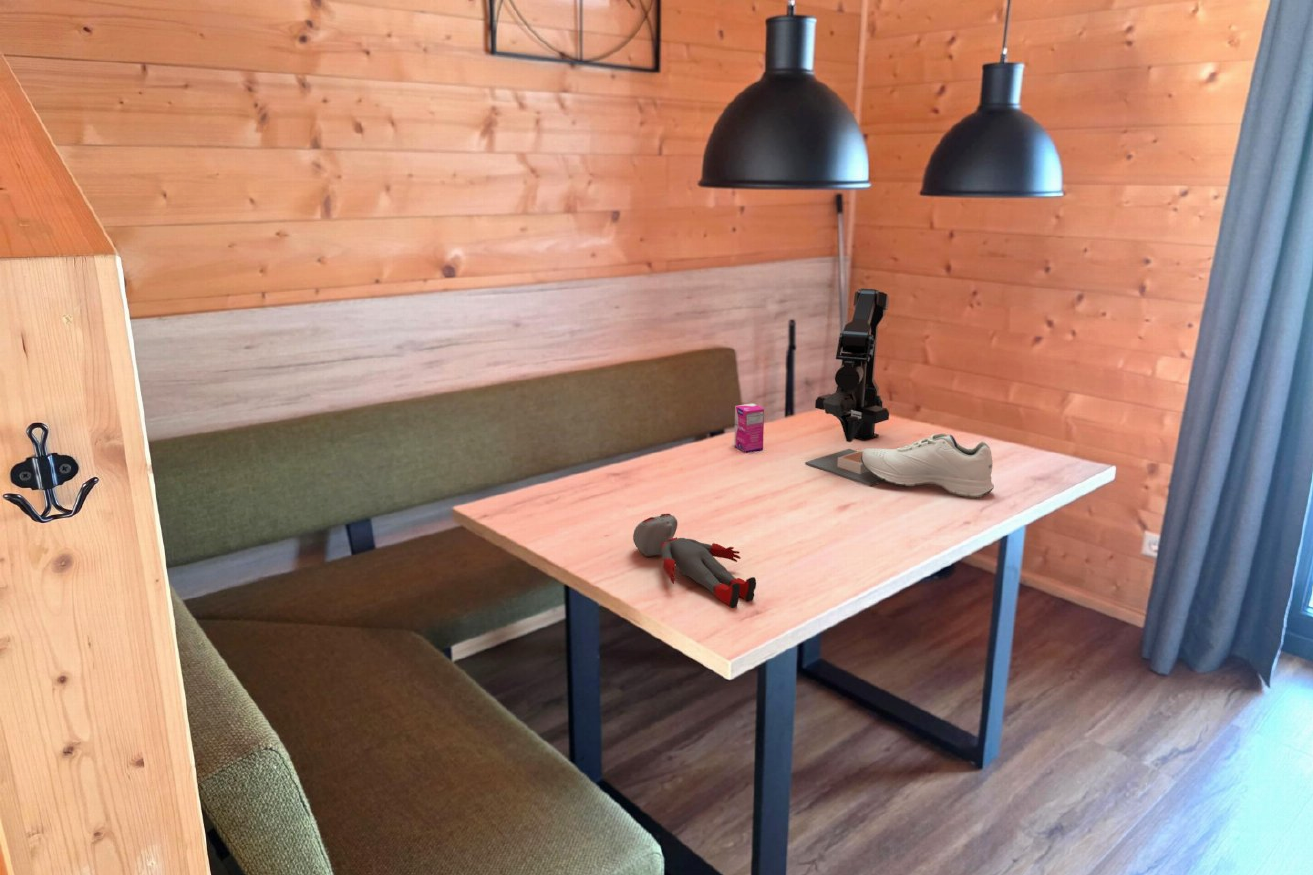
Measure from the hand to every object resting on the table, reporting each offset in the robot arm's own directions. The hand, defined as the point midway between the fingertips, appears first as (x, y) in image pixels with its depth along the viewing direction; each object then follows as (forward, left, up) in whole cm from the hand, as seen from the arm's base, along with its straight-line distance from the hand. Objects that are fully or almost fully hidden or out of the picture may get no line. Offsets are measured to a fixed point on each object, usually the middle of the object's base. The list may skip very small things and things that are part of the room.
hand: (849, 441), depth 227 cm
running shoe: (-2, +21, -6) cm, 22 cm away
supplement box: (+10, -25, -6) cm, 28 cm away
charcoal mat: (0, +3, -6) cm, 7 cm away
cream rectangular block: (0, +1, -4) cm, 4 cm away
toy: (+71, +21, -7) cm, 75 cm away
